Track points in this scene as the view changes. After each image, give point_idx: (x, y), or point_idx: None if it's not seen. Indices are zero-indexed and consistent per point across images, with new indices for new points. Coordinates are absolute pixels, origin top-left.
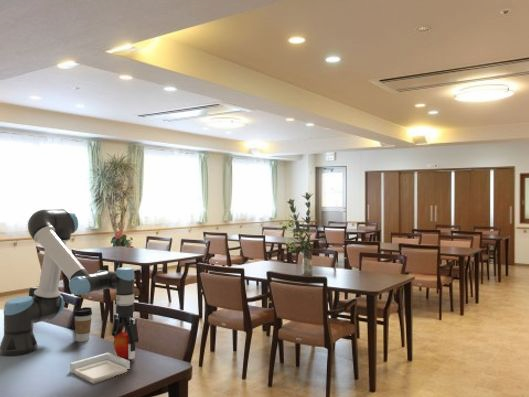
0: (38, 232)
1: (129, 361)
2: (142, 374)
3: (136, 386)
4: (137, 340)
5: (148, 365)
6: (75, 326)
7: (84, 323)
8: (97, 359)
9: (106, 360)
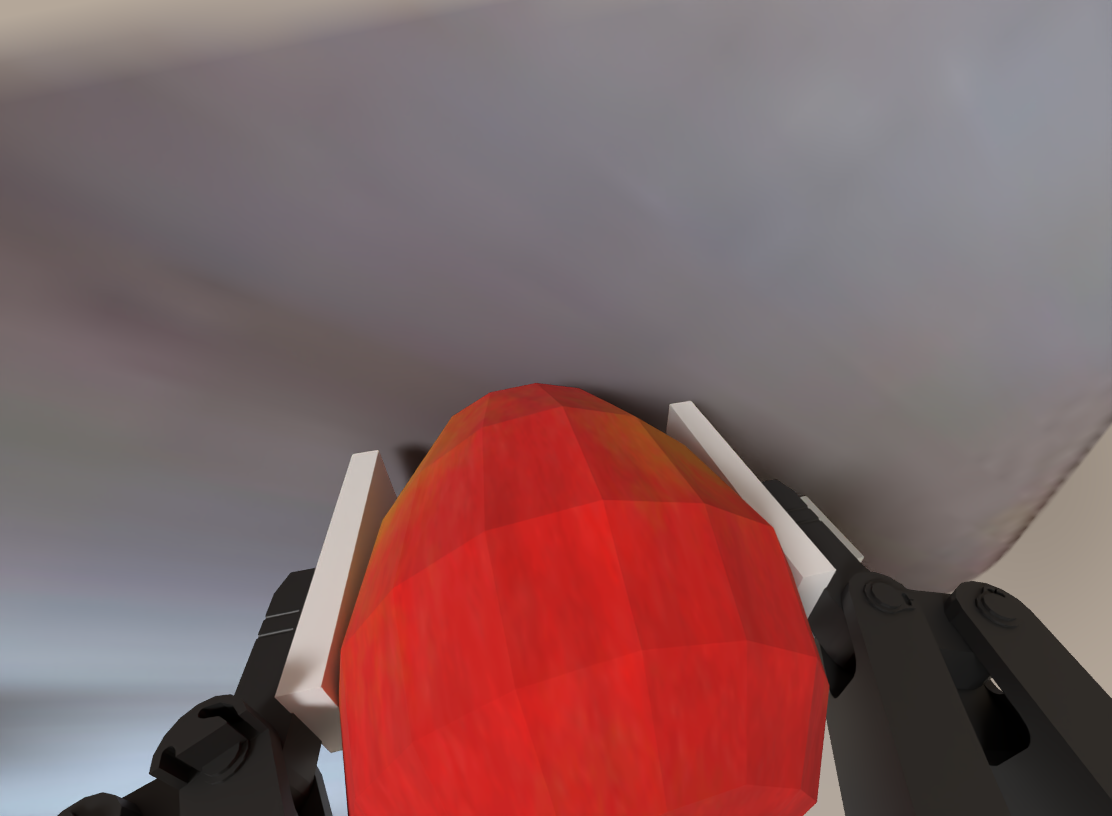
0: None
1: (859, 555)
2: (951, 461)
3: (994, 536)
4: (1018, 634)
5: (905, 343)
6: None
7: None
8: None
9: None
